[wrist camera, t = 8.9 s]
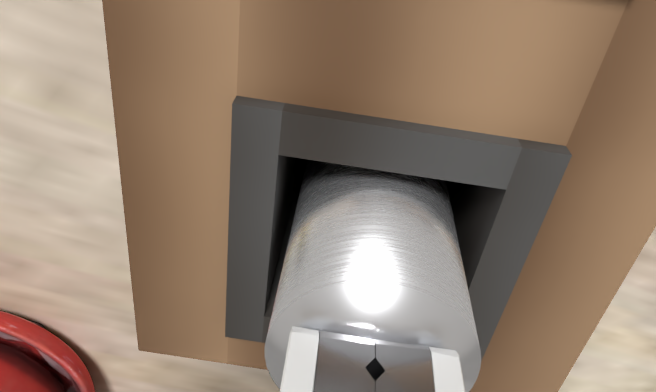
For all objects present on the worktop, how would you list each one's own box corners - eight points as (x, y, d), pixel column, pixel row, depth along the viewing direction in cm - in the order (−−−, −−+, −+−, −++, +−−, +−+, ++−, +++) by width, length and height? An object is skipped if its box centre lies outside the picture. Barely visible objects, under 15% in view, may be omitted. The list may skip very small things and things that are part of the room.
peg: (446, 82, 17) (510, 302, 9) (419, 186, 19) (449, 440, 11) (323, 63, 17) (272, 266, 9) (310, 170, 19) (258, 411, 11)
